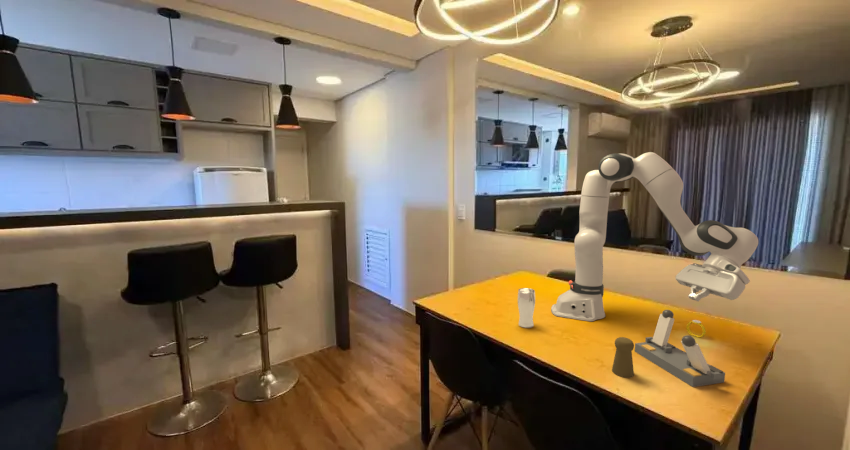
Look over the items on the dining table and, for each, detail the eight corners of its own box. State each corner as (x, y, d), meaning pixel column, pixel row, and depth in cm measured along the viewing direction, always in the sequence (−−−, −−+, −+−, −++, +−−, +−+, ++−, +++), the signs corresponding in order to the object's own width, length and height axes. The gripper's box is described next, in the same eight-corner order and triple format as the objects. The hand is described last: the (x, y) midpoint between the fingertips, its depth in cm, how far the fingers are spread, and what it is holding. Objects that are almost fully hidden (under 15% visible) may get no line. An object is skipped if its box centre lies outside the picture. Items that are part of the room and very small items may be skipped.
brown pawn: (607, 368, 113) (609, 335, 112) (625, 366, 114) (627, 334, 112) (619, 378, 107) (621, 344, 106) (638, 377, 108) (640, 342, 106)
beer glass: (535, 323, 149) (536, 288, 148) (533, 329, 143) (534, 293, 141) (519, 320, 152) (519, 287, 151) (516, 327, 146) (516, 291, 144)
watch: (705, 338, 133) (708, 324, 132) (701, 340, 132) (703, 325, 131) (688, 331, 138) (691, 317, 137) (684, 333, 137) (686, 318, 136)
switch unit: (661, 348, 126) (662, 335, 125) (732, 386, 102) (733, 371, 101) (634, 351, 124) (634, 338, 123) (699, 391, 100) (700, 376, 99)
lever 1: (655, 342, 123) (665, 307, 123) (669, 350, 118) (680, 313, 117) (647, 341, 123) (658, 306, 122) (661, 349, 117) (673, 312, 116)
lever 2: (697, 362, 108) (681, 329, 105) (716, 372, 102) (700, 338, 99) (689, 368, 107) (673, 335, 105) (708, 379, 101) (691, 344, 99)
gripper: (686, 256, 131) (662, 284, 130) (745, 269, 111) (717, 302, 110) (695, 267, 132) (671, 295, 131) (755, 282, 112) (727, 315, 111)
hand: (692, 299), depth 120 cm, fingers closed
